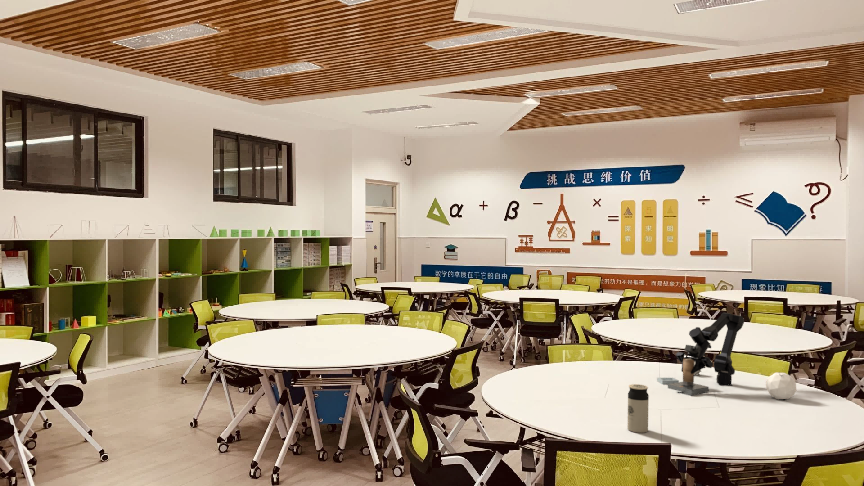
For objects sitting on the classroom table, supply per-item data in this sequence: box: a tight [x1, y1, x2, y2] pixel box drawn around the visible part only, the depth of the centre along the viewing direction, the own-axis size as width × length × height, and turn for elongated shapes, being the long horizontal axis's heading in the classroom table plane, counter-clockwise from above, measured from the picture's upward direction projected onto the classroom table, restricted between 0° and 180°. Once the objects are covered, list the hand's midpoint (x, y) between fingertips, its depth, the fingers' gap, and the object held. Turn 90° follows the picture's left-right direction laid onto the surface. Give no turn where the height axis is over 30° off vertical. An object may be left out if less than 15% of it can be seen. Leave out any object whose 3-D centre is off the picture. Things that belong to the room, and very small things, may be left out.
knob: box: [682, 359, 695, 386], centre depth 324 cm, size 5×5×13 cm
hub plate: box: [667, 381, 710, 397], centre depth 324 cm, size 14×14×3 cm
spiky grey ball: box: [694, 362, 702, 376], centre depth 364 cm, size 9×8×10 cm
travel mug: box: [627, 383, 650, 434], centre depth 255 cm, size 8×8×18 cm
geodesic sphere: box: [765, 371, 797, 400], centre depth 310 cm, size 14×14×14 cm
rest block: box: [656, 377, 680, 385], centre depth 339 cm, size 9×7×3 cm
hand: (686, 372), depth 323 cm, fingers closed on knob, 5 cm apart
